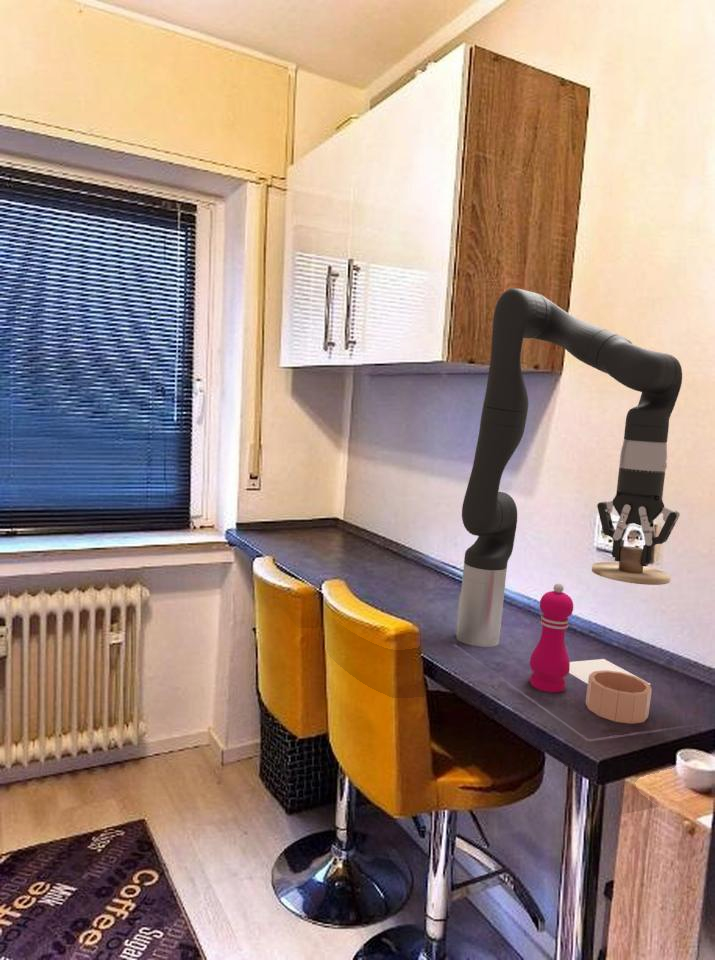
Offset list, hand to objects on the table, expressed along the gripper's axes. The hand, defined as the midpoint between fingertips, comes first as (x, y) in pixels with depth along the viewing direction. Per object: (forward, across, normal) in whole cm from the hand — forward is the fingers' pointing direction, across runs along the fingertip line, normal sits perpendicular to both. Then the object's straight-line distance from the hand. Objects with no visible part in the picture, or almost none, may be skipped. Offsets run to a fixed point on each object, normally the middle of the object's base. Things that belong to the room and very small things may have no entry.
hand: (631, 562), depth 121 cm
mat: (+26, -6, +11) cm, 28 cm away
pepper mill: (+26, -12, -3) cm, 29 cm away
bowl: (+26, +1, -4) cm, 26 cm away
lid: (+2, 0, 0) cm, 2 cm away
